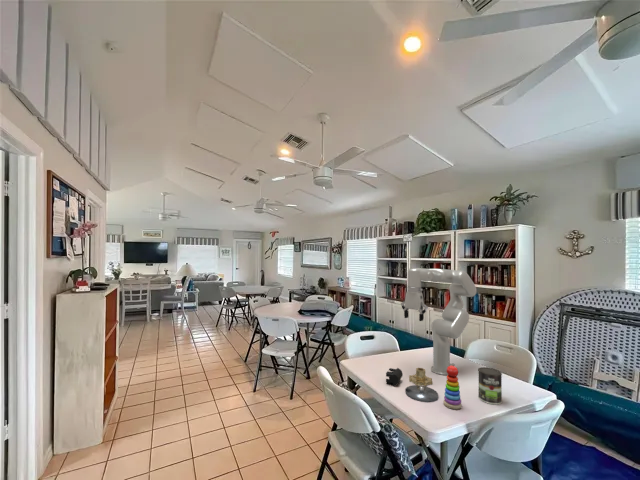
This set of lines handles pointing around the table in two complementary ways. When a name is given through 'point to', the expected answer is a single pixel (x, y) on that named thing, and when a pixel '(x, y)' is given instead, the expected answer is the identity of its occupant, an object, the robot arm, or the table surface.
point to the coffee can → (490, 385)
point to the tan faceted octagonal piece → (420, 378)
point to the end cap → (393, 376)
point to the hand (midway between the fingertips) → (413, 319)
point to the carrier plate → (421, 393)
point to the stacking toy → (452, 389)
